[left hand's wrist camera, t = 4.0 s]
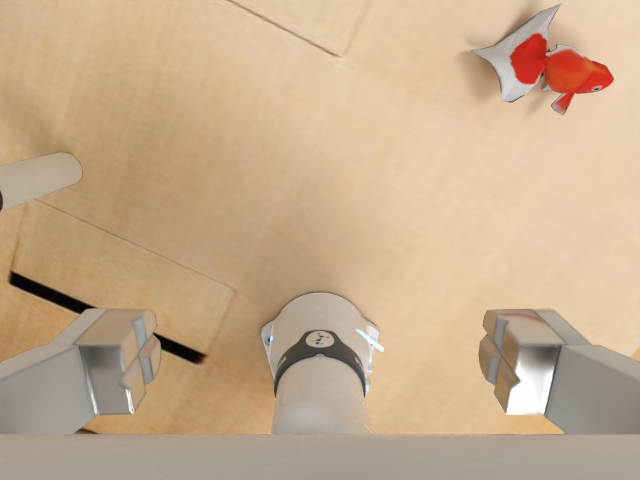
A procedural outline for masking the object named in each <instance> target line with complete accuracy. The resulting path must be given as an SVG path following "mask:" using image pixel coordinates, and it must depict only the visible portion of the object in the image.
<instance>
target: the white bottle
mask: <svg viewBox="0 0 640 480" xmlns="http://www.w3.org/2000/svg"><path fill="white" fill-rule="evenodd" d="M81 176H82V168H81V165H80V163H79V161H78V160H77V159H76V158H75V157H74V156H72V155H71V154H68V153H65V152H58V153H54V154H50V155H46V156H41V157H37V158H33V159H29V160H24V161H20V162H16V163H12V164H7V165H3V166H0V191H1V194H2V197H3V207H2V210H1V211H4V210H7V209H9V208H12V207H15V206H17V205H20V204H23V203H25V202H28V201H31V200H33V199H36V198H39V197H41V196H44V195H47V194H49V193H52V192H54V191H57V190H60V189H62V188H65V187H68V186H70V185H73V184H75V183H77V182H78V181H79V180H80V179H81Z"/></svg>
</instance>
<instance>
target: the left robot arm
mask: <svg viewBox="0 0 640 480" xmlns="http://www.w3.org/2000/svg"><path fill="white" fill-rule="evenodd" d="M156 327H157V321H156V316H155V313H154V312H153V311H152V310H151V309H109V308H102V309H86V310H85V311H84V312H83V313H82V314H81V315H80V316H79V317H78V318H76V319H75V320H74V321H73V322H72V323H71V324H70V325H69V326H68V327H67V328H66V329H64V330H63V331H62V332H61V333H60V334H59V335H58V336H57V337H56V338H55V339H54V340H52V341H51V342H50V343H49V344H48V345H40V346H37V347H35V348H32V349H30V350H27V351H25V352H23V353H20V354H18V355H15V356H13V357H10V358H8V359H6V360H3V361H1V362H0V480H640V362H639V361H637V360H634V359H632V358H629V357H627V356H625V355H622V354H620V353H617V352H615V351H613V350H610V349H608V348H605V347H603V346H600V345H592V344H591V343H590V342H589V341H588V340H586V339H585V338H584V337H583V336H582V335H581V334H580V333H579V332H578V331H577V330H576V329H575V328H573V327H572V326H571V325H570V324H569V323H568V322H567V321H566V320H565V319H564V318H563V317H562V316H560V315H559V314H558V313H557V312H556V311H555V310H553V309H550V308H543V309H501V310H487V311H486V314H485V316H484V320H483V327H484V329H485V330H486V332H487V333H488V334H487V335H486V336H485V337H484V338H483V339H482V340H481V341H480V346H479V362H480V367H481V370H482V373H483V375H484V377H485V378H486V380H487V381H489V382H490V383H492V384H493V385H495V390H494V394H495V396H496V397H497V399H498V401H499V403H500V404H501V406H502V408H503V409H504V411H505V413H506V414H518V415H545V418H547V419H548V420H549V421H551V422H552V423H553V424H555V425H556V426H557V427H559V428H560V429H561V430H563V431H564V432H565V433H567V434H375V433H374V431H373V429H372V427H371V424H370V421H369V417H368V414H367V410H366V405H365V400H364V398H365V393H369V390H370V379H369V378H367V376H368V375H371V373H372V366H371V362H372V358H373V355H374V351H375V348H376V347H377V348H379V349H380V350H381V351H383V350H384V349H383V347H382V346H380V345H379V344H378V343H377V341H378V337H379V329H378V328H377V327H376V326H375V325H374V324H372V323H371V322H369V321H367V320H366V319H364V318H363V316H362V315H361V314H360V312H359V311H358V310H357V308H356V307H355V306H354V305H353V304H352V303H350V302H349V301H348V300H346V299H344V298H342V297H340V296H338V295H335V294H331V293H324V292H316V293H309V294H305V295H302V296H300V297H298V298H296V299H294V300H292V301H291V302H290V303H288V304H287V305H286V306H285V307H284V308H283V310H282V311H281V312H280V314H279V315H278V316H277V318H276V319H275V320H273V321H271V322H269V323H268V324H266V325H265V326H264V327H263V328H262V329H261V337H262V341H263V344H264V348H265V351H266V355H267V358H268V362H269V365H270V369H271V372H272V375H273V379H274V384H275V385H274V393H275V398H276V401H275V408H274V415H273V422H272V429H271V433H272V434H73V433H75V432H76V431H77V430H79V429H80V428H81V427H83V426H84V425H85V424H87V423H88V422H89V421H91V420H92V419H93V418H95V415H121V414H134V413H135V411H136V409H137V408H138V406H139V404H140V403H141V401H142V399H143V397H144V396H145V394H146V390H145V385H147V384H148V383H150V382H151V381H153V380H154V378H155V376H156V375H157V373H158V370H159V366H160V362H161V346H160V341H159V340H158V339H157V338H156V337H155V336H154V335H153V334H152V333H153V332H154V330H155V329H156ZM268 338H270V340H269V339H268ZM371 338H372V339H371Z"/></svg>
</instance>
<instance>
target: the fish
mask: <svg viewBox="0 0 640 480" xmlns="http://www.w3.org/2000/svg"><path fill="white" fill-rule="evenodd" d="M561 4H562V3H561ZM561 4H559V5H556V6H554V7H551V8H549V9H546V10H544V11H541V12H540V13H538V14H537V15H535V16H534V17H532V18H531V19H530V20H528V21H527V22H525V23H524V24H523V25H521V26H520V27H518V28H517V29H516V30H515V31H513V32H512V33H511V34H510V35H508V36H507V37H506V38H504V39H503V40H502V41H500V42H499V43H497V44H496V45H495V46H491V47H487V48H483V49H479V50H472V51H471V52H473V53H474V54H477V55H479V56H480V57H482V58H484V59H485V60H487V61H488V62H489V63H491V64H492V66H493V68H494V69H495V71H496V73H497V76H498V79H499V82H500V89H501V97H502V102H514V101H516V100H517V99H519V98H521V97H522V96H524V95H525V94H526V93H527V92H528V91H530V90H531V89H532V88H533V86H534V85H535V84H536V83H537V82H538V81H539V80H540V78H541V77H542V76H543V75H544V74H545V79H546V82H547V85H546V86H545V87H544V88H543V91H547V90H550V89H552V90H553V91H555V92H558V93H563V94H562V95H561V96H560V97H559V98H558V99H557V100H556V101H555V102H553V103H552V105H551V106H552V108H553V109H554V111H556V112H558V113H560V114H562V115H563V114H564V113H565V112H566V110H567V108H568V106H569V104H570V102H571V100H572V98H573V96H574V94H575V93H577V94H581V93H592V92H597V91H600V90H602V89H604V88H606V87H607V86H609V85H610V84H611V83H612V82H613V81H614V78H613V76H612V74H611V73H610V71H609V70H608V68H607V66H605V65H603V64H600V63H598V62H595V61H590V60H589V59H587V58H586V57H584V56H582V55H581V54H580V53H579V52H578V51H577V50H576V49H575V48H573V47H570V46H566V45H556V47H557V48H556V49H555V50H553V51H550V50H549V45H548V26H549V24H550V22H551V20H552V19H553V17H554V15H555V13H556V12H557V10H558V9H559V7H560V6H561ZM548 56H549V57H548Z"/></svg>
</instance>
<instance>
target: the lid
mask: <svg viewBox="0 0 640 480" xmlns="http://www.w3.org/2000/svg"><path fill="white" fill-rule="evenodd" d="M2 207H3V197H2V194H1V191H0V212H1V210H2Z"/></svg>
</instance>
